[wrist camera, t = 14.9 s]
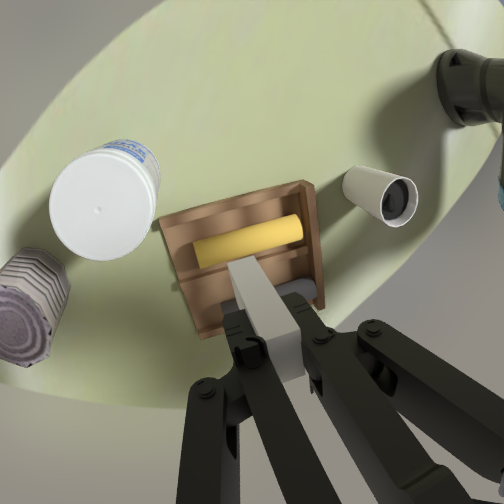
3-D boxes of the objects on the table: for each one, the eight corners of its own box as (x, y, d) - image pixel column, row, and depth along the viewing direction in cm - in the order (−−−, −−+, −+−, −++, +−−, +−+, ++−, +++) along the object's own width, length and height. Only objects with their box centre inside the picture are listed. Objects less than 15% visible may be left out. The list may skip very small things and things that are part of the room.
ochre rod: (290, 219, 44) (295, 209, 41) (298, 242, 44) (305, 234, 40) (194, 246, 42) (191, 238, 39) (201, 271, 41) (199, 265, 38)
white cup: (363, 211, 47) (404, 234, 38) (332, 195, 44) (371, 216, 35) (381, 173, 45) (425, 190, 36) (351, 155, 42) (394, 167, 34)
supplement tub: (153, 130, 34) (144, 137, 21) (167, 203, 39) (168, 249, 26) (79, 150, 33) (34, 170, 20) (96, 221, 37) (66, 274, 24)
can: (-6, 269, 34) (-41, 313, 24) (40, 231, 35) (4, 271, 24) (37, 324, 40) (16, 377, 29) (85, 294, 40) (68, 348, 30)
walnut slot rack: (303, 179, 42) (313, 184, 39) (316, 297, 51) (325, 308, 48) (159, 217, 39) (158, 226, 36) (199, 334, 48) (202, 348, 45)
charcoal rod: (306, 271, 48) (316, 283, 45) (308, 290, 50) (317, 302, 46) (218, 298, 46) (223, 312, 43) (224, 317, 47) (228, 331, 44)
